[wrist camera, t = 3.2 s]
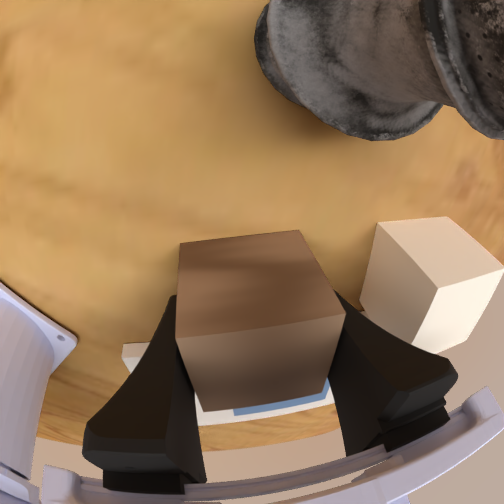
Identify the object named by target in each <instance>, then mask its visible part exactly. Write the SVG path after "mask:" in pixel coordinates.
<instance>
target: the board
mask: <svg viewBox="0 0 504 504" xmlns="http://www.w3.org/2000/svg"><path fill="white" fill-rule="evenodd" d="M360 313H361V314H363V315H364V316H365V317H367V318H368V319H369V320H370V318H369V316H368V315H367V313H366V311H362V312H360ZM149 343H150V342H146V343H129V344H123V350H122V356H121V358H122V360H123V362H124V363H125V365H126V367H127V368H128V370H129V372H130V373H132V371H133V370H134V368H135V367H136V365H137V364H138V362H139V361H140V359H141V357H142V356H143V354H144V352H145V351H146V349H147V347H148V345H149ZM332 403H335V402H334V398H333V394H332V391H331V388H330V384H329V381H328V378H327V379H326V382H325V385H324V388H323V391H322V393H319V394H315V395H311V396H306V397H302V398H297V399H292V400H287V401H282V402H276V403H271V404H265V405H259V406H252V407H245V408H238V409H230V410H221V411H212V412H203V410H202V407H201V405H200V403H199V400H198V398H197V395H196V393H195V404H196V413H197V422H198V426H204V425H215V424H224V423H233V422H241V421H248V420H255V419H261V418H267V417H273V416H278V415H283V414H289V413H293V412H298V411H303V410H307V409H312V408H316V407H320V406H324V405H328V404H332Z"/></svg>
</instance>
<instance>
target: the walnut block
mask: <svg viewBox="0 0 504 504" xmlns="http://www.w3.org/2000/svg"><path fill="white" fill-rule="evenodd" d="M345 315H346V312H345V310H344V309H343V307H342V305H341V303H340V301H339V299H338V298H337V296H336V294H335V292H334V290H333V289H332V287H331V285H330V283H329V281H328V280H327V278H326V276H325V274H324V272H323V271H322V269H321V267H320V265H319V264H318V262H317V260H316V258H315V257H314V255H313V253H312V252H311V250H310V248H309V246H308V245H307V243H306V241H305V240H304V238H303V236H302V234H301V233H300V231H299V230H295V231H286V232H276V233H267V234H258V235H249V236H240V237H231V238H222V239H213V240H205V241H196V242H188V243H180V254H179V268H178V284H177V304H176V332H175V339H176V342H177V345H178V347H179V350H180V353H181V356H182V359H183V361H184V364H185V367H186V370H187V372H188V375H189V377H190V380H191V383H192V385H193V388H194V390H195V393H196V395H197V398H198V400H199V403H200V405H201V407H202V410H203V412H212V411H221V410H230V409H238V408H245V407H252V406H259V405H265V404H271V403H276V402H282V401H287V400H292V399H297V398H302V397H306V396H311V395H315V394H319V393H322V391H323V388H324V385H325V382H326V379H327V376H328V373H329V370H330V367H331V364H332V360H333V357H334V354H335V351H336V347H337V344H338V340H339V337H340V333H341V330H342V326H343V323H344V319H345Z"/></svg>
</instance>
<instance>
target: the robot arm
mask: <svg viewBox="0 0 504 504" xmlns="http://www.w3.org/2000/svg"><path fill="white" fill-rule="evenodd" d="M333 290H334V289H333ZM334 292H335V294H336V296H337V298H338V299H339V301H340V303H341V305H342V307H343V309H344V310H345V312H346V315H345V319H344V323H343V326H342V330H341V333H340V337H339V340H338V344H337V347H336V351H335V354H334V357H333V360H332V364H331V367H330V370H329V373H328V376H327V378H328V381H329V384H330V388H331V391H332V394H333V398H334V402H335V405H336V409H337V413H338V417H339V422H340V426H341V430H342V435H343V440H344V446H345V452H346V457H345V458H342V459H338V460H335V461H332V462H329V463H325V464H321V465H317V466H313V467H309V468H306V469H302V470H297V471H293V472H287V473H282V474H278V475H272V476H267V477H260V478H254V479H246V480H238V481H228V482H219V483H218V482H217V483H206V481H207V478H206V473H205V467H204V462H203V456H202V450H201V444H200V437H199V430H198V422H197V413H196V404H195V390H194V388H193V385H192V383H191V380H190V377H189V375H188V372H187V370H186V367H185V364H184V361H183V359H182V356H181V353H180V350H179V347H178V345H177V342H176V339H175V332H176V304H177V295H172V296H171V297H170V299H169V301H168V304H167V307H166V309H165V312H164V314H163V317H162V319H161V321H160V323H159V325H158V327H157V330H156V332H155V334H154V336H153V338H152V340H151V341H150V343H149V345H148V347H147V349H146V351H145V352H144V354H143V356H142V357H141V359H140V361H139V362H138V364H137V365H136V367H135V368H134V370H133V371H132V373H131V374H130V375H129V377H128V378H127V380H126V381H125V382H124V384H123V385H122V386H121V387H120V389H119V390H118V391H117V392H116V393H115V394H114V395H113V397H112V398H111V399H110V400H109V401H108V402H107V403H106V404H105V405H104V407H103V408H101V409H100V410H99V411H98V412H97V413H96V414H95V415H94V416H93V417H92V418H91V419H90V420H89V421H88V422H87V424H86V428H85V432H84V439H83V449H82V455H83V457H84V458H85V459H86V460H88V461H89V462H91V463H92V464H94V465H96V466H97V467H99V468H101V469H103V480H101V479H95V478H88V477H83V476H79V475H78V474H77V473H75V472H73V471H70V470H66V469H63V468H58V467H53V466H49V465H44V470H43V482H42V499H41V501H40V500H39V487H37V486H35V485H32V484H31V483H29V482H28V481H27V480H30V479H31V468H32V460H33V453H34V446H35V439H36V434H37V428H38V423H39V418H40V413H41V409H42V404H43V400H44V396H45V392H46V388H47V384H48V380H49V376H50V375H51V374H52V373H53V372H54V370H55V369H56V368H57V367H58V366H59V365H60V364H61V362H62V361H63V360H64V359H65V358H66V357H67V356H68V355H69V353H70V352H71V351H72V350H73V349H74V348H75V347H76V345H77V341H78V340H77V338H76V336H75V335H73V334H72V333H70V332H69V331H67V330H65V329H64V328H62V327H61V326H59V325H58V324H56V323H55V322H53V321H52V320H50V319H49V318H47V317H46V316H44V315H43V314H42V313H40V312H39V311H37V310H36V309H34V308H33V307H32V306H30V305H29V304H28V303H26V302H25V301H24V300H22V299H21V298H20V297H18V296H17V295H16V294H14V293H13V292H12V291H11V290H9V289H8V288H7V287H6V286H4V285H3V284H2V283H1V282H0V504H221V503H220V502H184V501H212V500H225V499H236V498H244V497H252V496H259V495H265V494H271V493H276V492H282V491H287V490H292V489H296V488H301V487H305V486H309V485H313V484H317V483H321V482H324V481H328V480H331V479H334V478H338V477H341V476H344V475H347V474H350V473H353V472H356V471H359V470H362V469H365V468H367V467H370V466H373V465H375V464H378V463H380V462H382V463H380V464H378V465H376V466H373V467H371V468H369V469H367V470H365V471H364V473H363V474H361V475H360V476H358V477H356V478H355V479H353V480H352V481H351V482H352V483H349V484H345V485H342V486H339V487H335V488H332V489H328V490H325V491H321V492H317V493H313V494H309V495H305V496H301V497H297V498H293V499H289V500H284V501H279V502H274V503H269V504H410V501H409V499H408V496H407V494H409V493H411V492H413V491H414V490H416V489H418V488H420V487H422V486H424V485H425V484H427V483H429V482H431V481H432V480H434V479H435V478H437V477H439V476H441V475H442V474H444V473H445V472H447V471H449V470H450V469H452V468H453V467H455V466H456V465H458V464H459V463H460V462H462V461H463V460H465V459H466V458H468V457H469V456H470V455H472V454H473V453H474V452H476V451H477V450H478V449H480V448H481V447H482V446H484V445H485V444H486V443H487V442H489V441H490V440H491V439H492V438H494V437H495V436H496V435H497V434H498V433H500V432H501V431H502V430H503V429H504V414H503V412H502V410H501V408H500V406H499V405H498V403H497V402H496V400H495V398H494V396H493V394H492V393H491V391H490V389H489V388H488V386H485V387H484V388H482V389H481V390H479V391H477V392H476V393H474V394H473V395H471V396H470V397H469V398H468V399H467V400H465V402H464V403H463V404H462V405H461V406H460V407H458V408H456V409H455V410H453V411H451V412H449V413H447V411H446V410H445V408H444V405H446V401H445V399H444V396H445V394H446V393H447V392H448V391H449V390H450V389H451V388H452V387H453V385H454V384H455V383H456V381H457V379H458V373H457V372H456V370H455V369H454V367H453V365H452V364H451V362H450V361H449V359H447V358H445V357H441V356H439V355H436V354H433V353H430V352H427V351H425V350H423V349H420V348H418V347H416V346H413V345H411V344H409V343H407V342H405V341H403V340H401V339H400V338H398V337H396V336H394V335H392V334H391V333H389V332H387V331H386V330H384V329H383V328H381V327H380V326H378V325H376V324H375V323H374V322H372V321H371V320H369V319H368V318H367V317H365V316H364V315H363V314H361V313H360V312H359V311H358V310H356V309H355V308H354V307H353V306H352V305H350V304H349V303H348V302H347V301H346V300H345V299H343V298H342V297H341V296H340V295H339V294H338V293H337V292H336V291H335V290H334ZM385 460H386V461H385ZM383 461H384V462H383Z"/></svg>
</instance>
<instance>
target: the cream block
mask: <svg viewBox="0 0 504 504" xmlns="http://www.w3.org/2000/svg"><path fill="white" fill-rule="evenodd" d="M503 272H504V266H503V265H502V264H501V263H500V262H499V261H498V260H497V259H496V258H495V257H494V256H493V255H491V254H490V253H489V252H488V251H487V250H486V249H485V248H484V247H483V246H482V245H480V244H479V243H478V242H477V241H476V240H475V239H474V238H473V237H471V236H470V235H469V234H468V233H467V232H466V231H464V230H463V229H462V228H461V227H460V226H458V225H457V224H456V223H455V222H453V221H452V220H451V219H450V218H448V217H435V218H423V219H411V220H399V221H388V222H377V226H376V231H375V236H374V241H373V246H372V250H371V255H370V259H369V263H368V267H367V272H366V276H365V280H364V283H363V287H362V291H361V295H360V299H359V301H360V303H361V305H362V306H363V308H364V310H365V311H366V313H367V315H368V316H369V318H370V320H371V321H372V322H374V323H375V324H376V325H378V326H380V327H381V328H383V329H384V330H386V331H387V332H389V333H391V334H392V335H394V336H396V337H398V338H400V339H401V340H403V341H405V342H407V343H409V344H411V345H413V346H416V347H418V348H420V349H423V350H425V351H427V352H430V353H433V354H436V353H439V352H441V351H443V350H446V349H448V348H450V347H453V346H455V345H457V344H459V343H461V342H463V341H466V339H467V338H468V336H469V334H470V333H471V331H472V330H473V328H474V327H475V325H476V323H477V321H478V320H479V318H480V317H481V314H482V313H483V311H484V309H485V308H486V306H487V304H488V302H489V300H490V299H491V296H492V295H493V293H494V291H495V289H496V287H497V285H498V283H499V281H500V279H501V277H502V274H503Z"/></svg>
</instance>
